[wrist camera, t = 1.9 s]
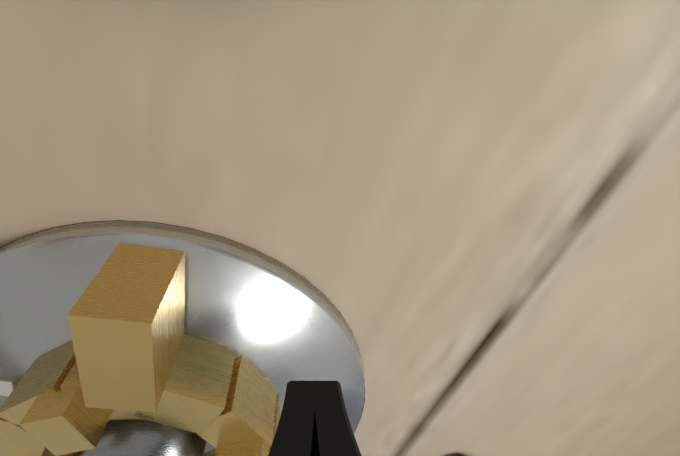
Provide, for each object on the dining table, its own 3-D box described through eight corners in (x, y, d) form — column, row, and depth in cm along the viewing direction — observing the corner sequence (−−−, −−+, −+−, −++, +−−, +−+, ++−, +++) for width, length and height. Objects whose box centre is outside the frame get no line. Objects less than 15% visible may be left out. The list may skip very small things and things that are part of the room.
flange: (441, 331, 18) (479, 438, 14) (260, 509, 25) (250, 611, 21) (-25, 125, 12) (-198, 203, 8) (-76, 436, 20) (-177, 555, 16)
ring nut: (371, 328, 15) (385, 410, 13) (224, 493, 21) (210, 574, 19) (85, 209, 12) (14, 283, 9) (6, 444, 18) (-52, 533, 15)
